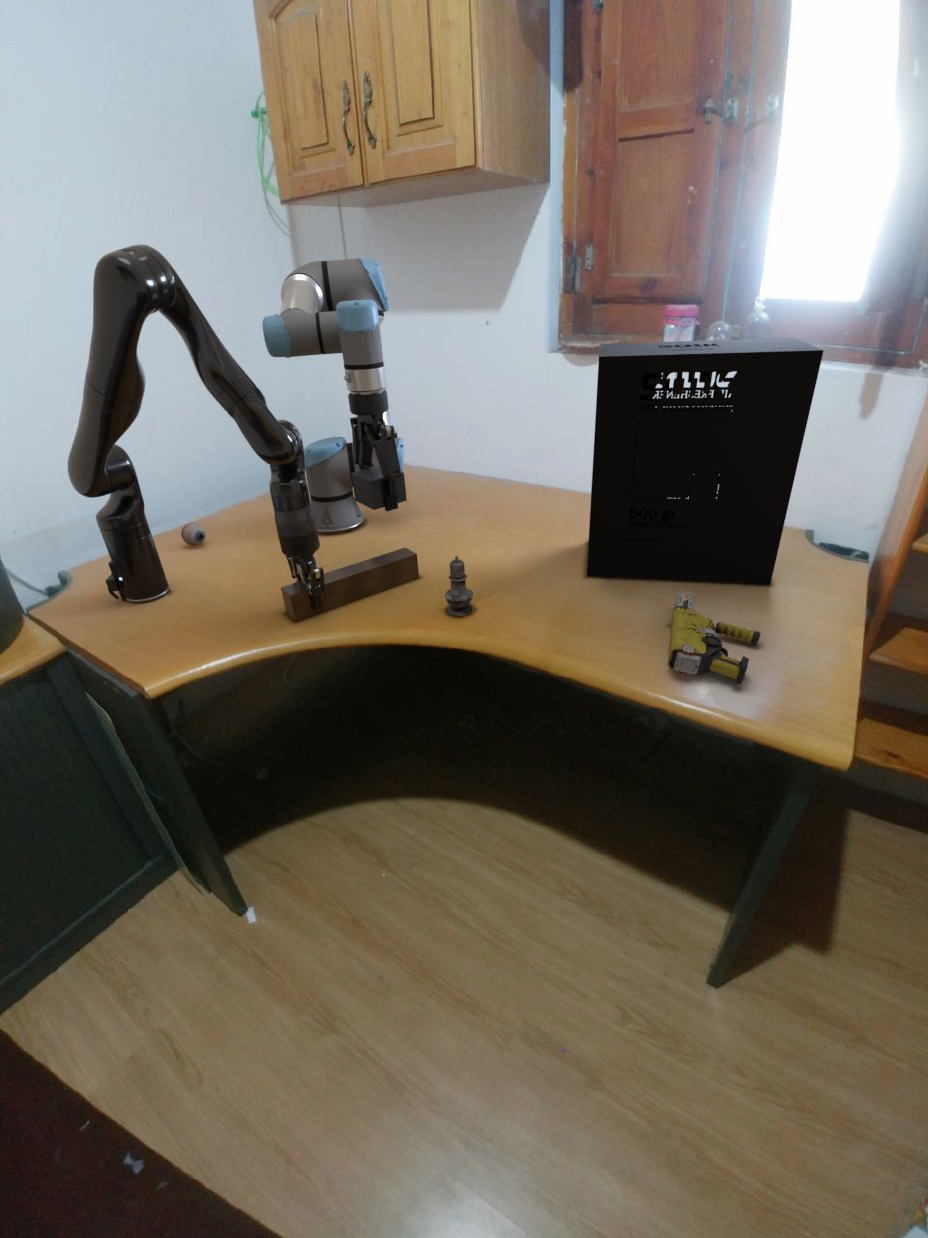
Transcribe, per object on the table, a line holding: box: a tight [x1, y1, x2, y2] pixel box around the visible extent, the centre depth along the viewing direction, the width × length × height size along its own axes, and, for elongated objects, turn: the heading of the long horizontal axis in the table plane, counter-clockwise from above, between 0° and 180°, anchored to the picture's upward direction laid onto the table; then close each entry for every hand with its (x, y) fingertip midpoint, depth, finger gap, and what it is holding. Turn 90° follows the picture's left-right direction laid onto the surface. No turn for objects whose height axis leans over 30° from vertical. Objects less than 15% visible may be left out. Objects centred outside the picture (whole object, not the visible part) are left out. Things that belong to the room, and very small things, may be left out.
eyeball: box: [180, 522, 207, 547], centre depth 160 cm, size 6×6×6 cm
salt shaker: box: [444, 555, 474, 617], centre depth 120 cm, size 6×6×12 cm
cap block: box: [351, 466, 408, 511], centre depth 125 cm, size 8×8×6 cm
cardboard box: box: [586, 337, 824, 586], centre depth 127 cm, size 38×20×45 cm, turn 78°
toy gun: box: [667, 591, 761, 686], centre depth 106 cm, size 5×24×15 cm
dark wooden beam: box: [280, 547, 420, 622], centre depth 130 cm, size 30×5×6 cm, turn 126°
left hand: (312, 603), depth 126 cm, fingers closed on dark wooden beam, 5 cm apart
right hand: (381, 504), depth 127 cm, fingers closed on cap block, 8 cm apart
